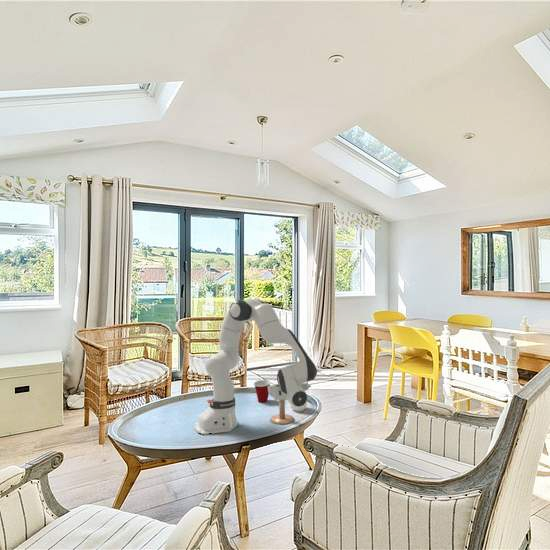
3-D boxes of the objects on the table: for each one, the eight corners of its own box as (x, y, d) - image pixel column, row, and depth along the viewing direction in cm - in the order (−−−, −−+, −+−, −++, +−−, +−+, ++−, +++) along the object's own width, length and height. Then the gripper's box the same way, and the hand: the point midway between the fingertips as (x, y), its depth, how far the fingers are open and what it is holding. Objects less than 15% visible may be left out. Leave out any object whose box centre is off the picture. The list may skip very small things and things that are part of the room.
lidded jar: (307, 406, 221) (307, 391, 221) (307, 413, 211) (307, 397, 210) (289, 406, 222) (289, 390, 222) (288, 413, 212) (288, 397, 211)
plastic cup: (250, 401, 233) (250, 381, 232) (264, 397, 239) (264, 378, 239) (260, 405, 224) (260, 386, 224) (274, 401, 231) (274, 382, 230)
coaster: (276, 427, 193) (276, 426, 193) (265, 418, 205) (265, 417, 205) (299, 422, 199) (299, 421, 199) (287, 413, 211) (287, 413, 211)
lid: (277, 426, 194) (276, 402, 194) (267, 417, 205) (267, 395, 205) (297, 421, 199) (296, 398, 199) (287, 414, 210) (286, 392, 210)
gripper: (311, 380, 180) (303, 374, 194) (270, 387, 176) (265, 380, 190) (312, 393, 180) (305, 386, 194) (271, 400, 176) (266, 393, 190)
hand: (285, 383), depth 192 cm, fingers open, 8 cm apart
